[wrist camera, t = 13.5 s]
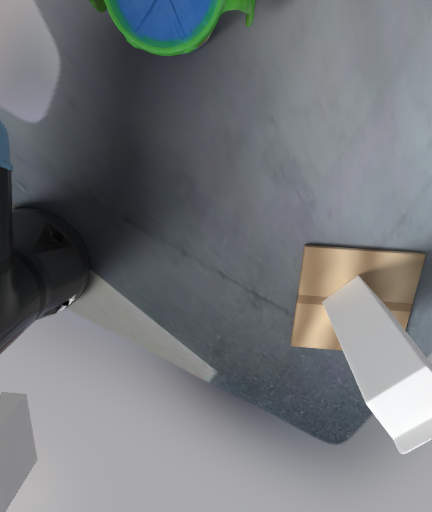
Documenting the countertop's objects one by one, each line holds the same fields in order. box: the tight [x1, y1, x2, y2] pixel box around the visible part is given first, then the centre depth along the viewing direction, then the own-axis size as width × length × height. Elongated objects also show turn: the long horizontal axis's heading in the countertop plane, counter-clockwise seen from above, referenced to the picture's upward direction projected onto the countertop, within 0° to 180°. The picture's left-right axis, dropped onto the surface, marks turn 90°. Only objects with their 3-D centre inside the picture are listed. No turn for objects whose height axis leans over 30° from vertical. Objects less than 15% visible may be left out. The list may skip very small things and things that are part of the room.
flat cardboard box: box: [291, 245, 426, 350], centre depth 48 cm, size 15×15×1 cm
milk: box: [322, 275, 432, 454], centre depth 38 cm, size 6×6×22 cm
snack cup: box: [89, 0, 256, 56], centre depth 34 cm, size 16×10×10 cm
